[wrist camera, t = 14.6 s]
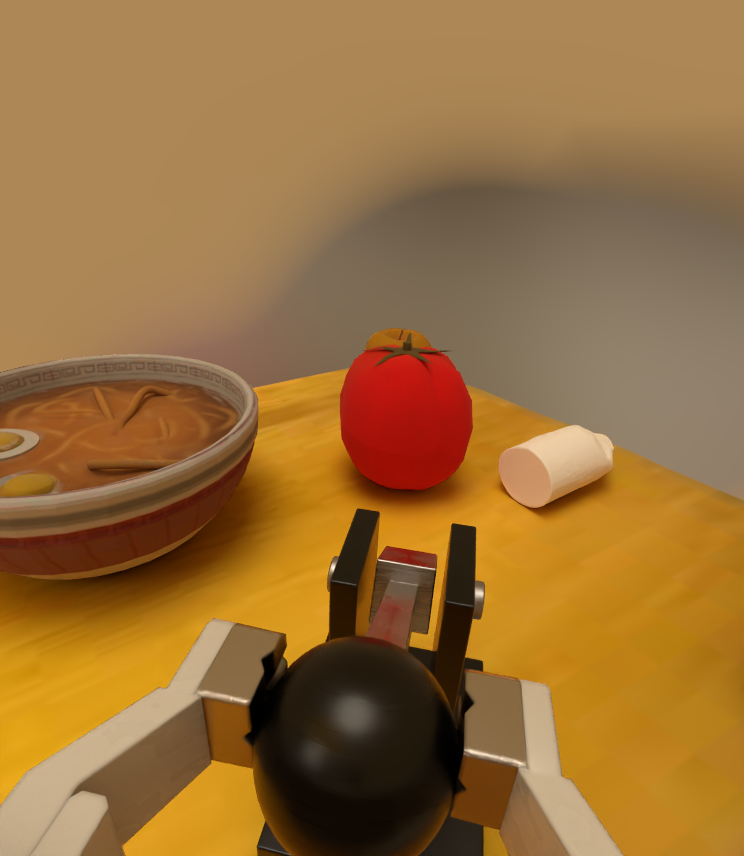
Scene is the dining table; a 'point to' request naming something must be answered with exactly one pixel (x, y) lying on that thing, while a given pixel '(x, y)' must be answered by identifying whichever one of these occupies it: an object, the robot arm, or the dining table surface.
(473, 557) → the bracket
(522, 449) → the cream cylinder
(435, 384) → the tomato
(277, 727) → the lever
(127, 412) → the bowl
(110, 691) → the dining table surface
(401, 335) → the apple
